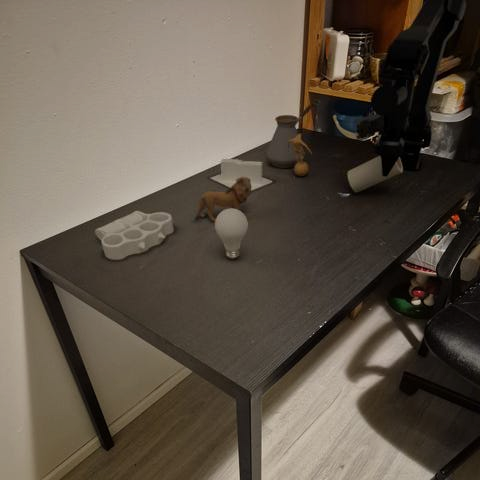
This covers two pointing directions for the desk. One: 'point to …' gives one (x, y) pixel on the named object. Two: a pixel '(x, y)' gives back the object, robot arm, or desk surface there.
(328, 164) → the desk surface
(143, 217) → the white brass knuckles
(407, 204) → the desk surface
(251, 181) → the napkin holder
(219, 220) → the light bulb
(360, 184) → the paper towel roll
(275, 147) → the coffee pot
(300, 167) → the figurine
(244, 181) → the lion figurine
